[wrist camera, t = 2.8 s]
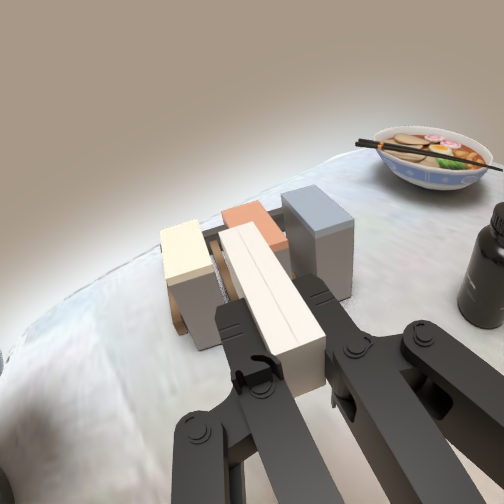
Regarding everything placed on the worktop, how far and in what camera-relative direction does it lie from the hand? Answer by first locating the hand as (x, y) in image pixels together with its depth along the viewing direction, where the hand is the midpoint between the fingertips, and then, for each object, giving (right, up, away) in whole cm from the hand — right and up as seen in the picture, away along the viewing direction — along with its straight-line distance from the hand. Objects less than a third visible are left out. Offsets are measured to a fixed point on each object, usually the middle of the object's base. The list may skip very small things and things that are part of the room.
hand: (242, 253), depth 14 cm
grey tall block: (-4, -7, +21) cm, 22 cm away
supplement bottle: (+26, -6, +14) cm, 30 cm away
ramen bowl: (+33, +13, +37) cm, 51 cm away
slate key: (+8, -3, +23) cm, 24 cm away
